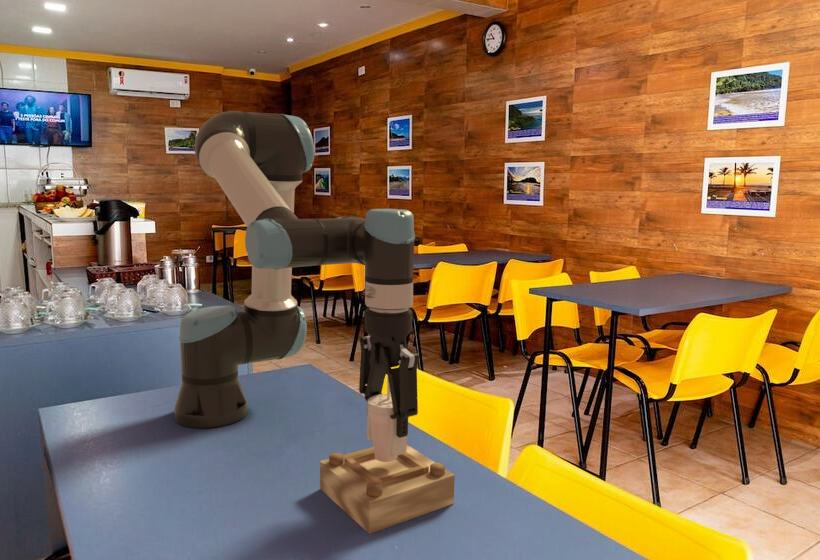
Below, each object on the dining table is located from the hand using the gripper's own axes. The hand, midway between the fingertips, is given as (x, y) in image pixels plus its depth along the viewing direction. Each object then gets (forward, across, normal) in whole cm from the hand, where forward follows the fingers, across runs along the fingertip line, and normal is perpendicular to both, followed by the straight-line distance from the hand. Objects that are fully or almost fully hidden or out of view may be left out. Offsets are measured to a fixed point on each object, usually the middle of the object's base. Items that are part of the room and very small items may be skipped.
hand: (386, 445), depth 102 cm
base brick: (+9, 0, 0) cm, 9 cm away
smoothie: (+2, 0, 0) cm, 2 cm away
